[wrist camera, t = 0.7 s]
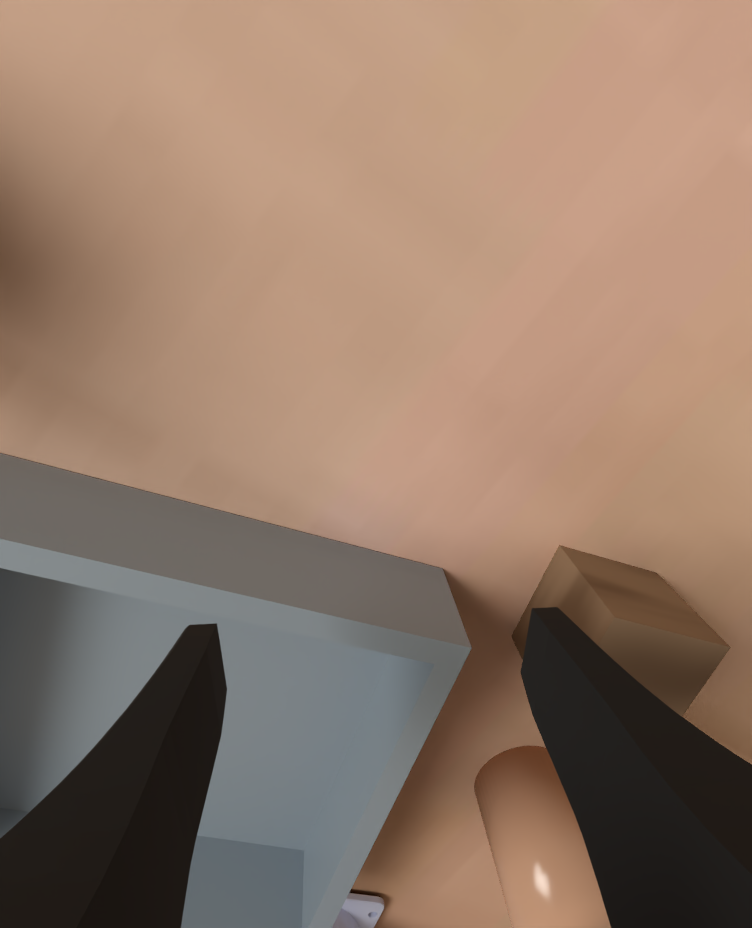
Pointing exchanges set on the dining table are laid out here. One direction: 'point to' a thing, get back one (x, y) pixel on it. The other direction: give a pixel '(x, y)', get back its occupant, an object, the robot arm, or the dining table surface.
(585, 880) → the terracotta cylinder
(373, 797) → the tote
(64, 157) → the dining table surface
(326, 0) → the dining table surface
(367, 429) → the dining table surface
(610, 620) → the walnut cube
